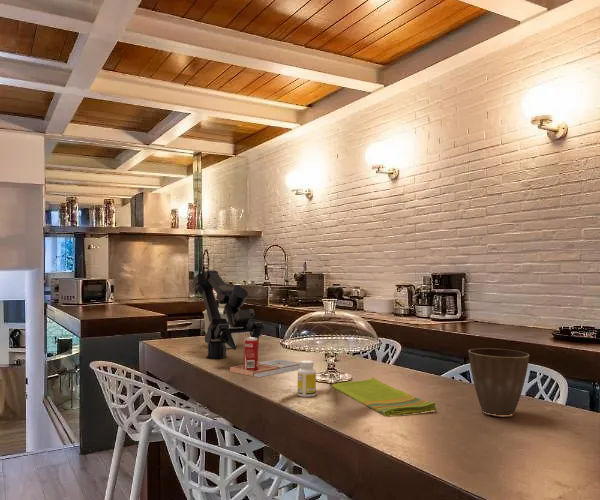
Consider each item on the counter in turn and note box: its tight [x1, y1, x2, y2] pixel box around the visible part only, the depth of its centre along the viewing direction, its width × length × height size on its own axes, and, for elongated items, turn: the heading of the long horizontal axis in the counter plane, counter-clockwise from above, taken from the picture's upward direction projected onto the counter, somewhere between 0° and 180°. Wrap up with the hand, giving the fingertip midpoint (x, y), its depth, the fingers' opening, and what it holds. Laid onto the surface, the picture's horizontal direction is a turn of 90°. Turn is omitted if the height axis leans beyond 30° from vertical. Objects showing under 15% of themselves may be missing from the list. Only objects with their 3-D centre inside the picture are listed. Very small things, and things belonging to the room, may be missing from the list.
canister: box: [202, 302, 239, 350], centre depth 254 cm, size 18×18×21 cm
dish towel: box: [331, 376, 437, 417], centre depth 159 cm, size 15×36×3 cm, turn 19°
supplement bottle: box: [297, 360, 317, 398], centre depth 162 cm, size 5×5×10 cm
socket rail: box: [229, 358, 301, 378], centre depth 201 cm, size 25×14×2 cm, turn 138°
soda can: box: [242, 336, 259, 371], centre depth 197 cm, size 5×5×12 cm
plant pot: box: [468, 347, 530, 415], centre depth 144 cm, size 15×15×16 cm
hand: (246, 348), depth 202 cm, fingers open, 9 cm apart
